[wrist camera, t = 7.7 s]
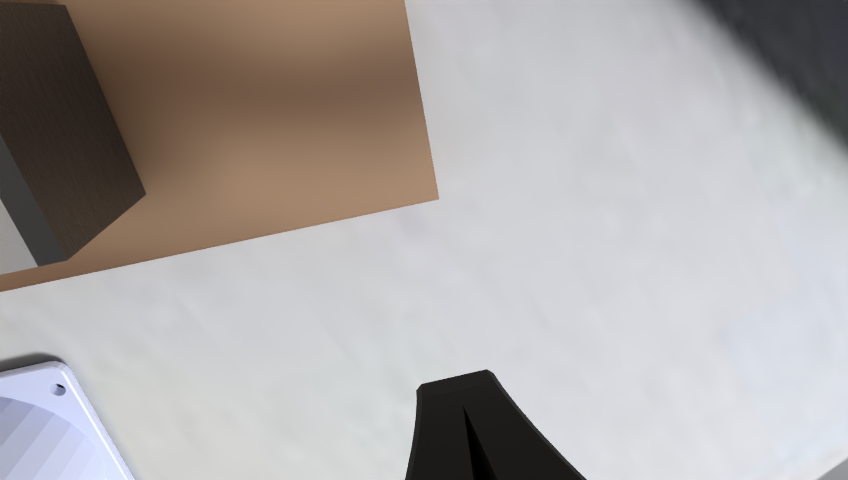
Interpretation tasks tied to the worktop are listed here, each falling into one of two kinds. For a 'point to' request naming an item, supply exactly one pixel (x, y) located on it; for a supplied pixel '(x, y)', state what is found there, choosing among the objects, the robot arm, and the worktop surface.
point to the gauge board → (250, 120)
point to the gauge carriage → (54, 142)
